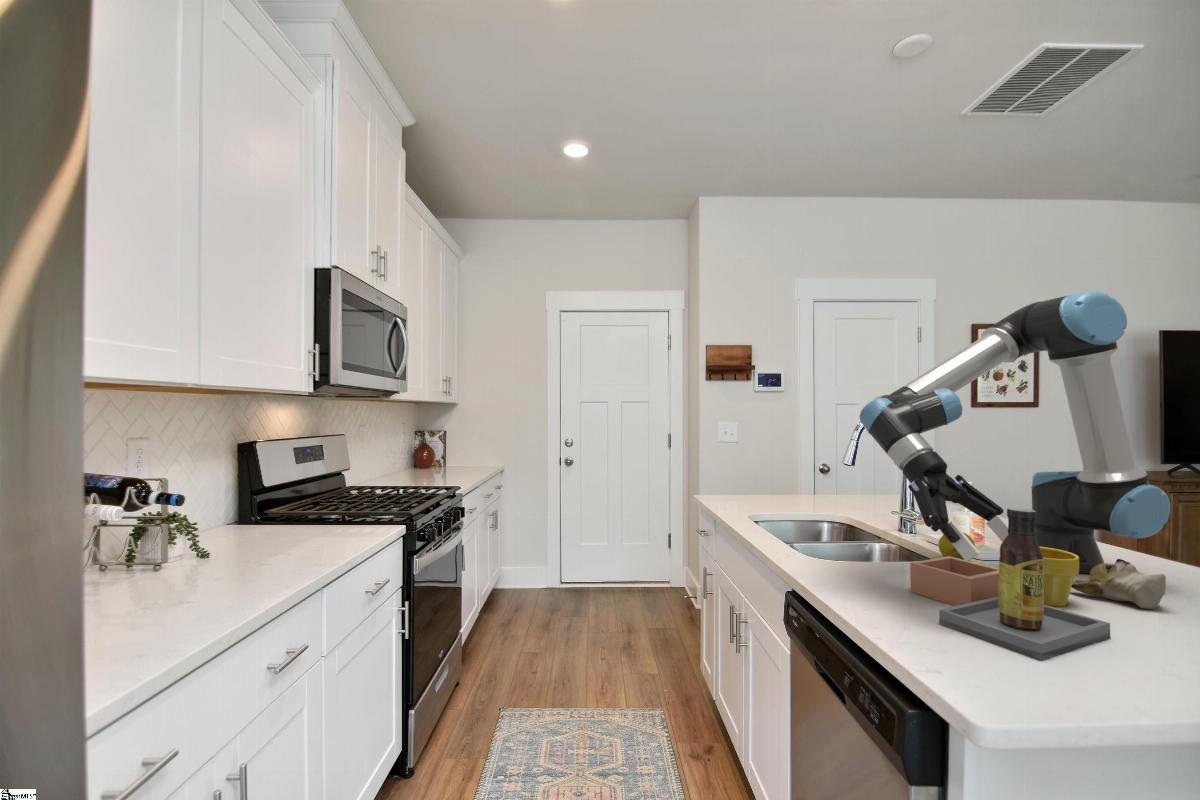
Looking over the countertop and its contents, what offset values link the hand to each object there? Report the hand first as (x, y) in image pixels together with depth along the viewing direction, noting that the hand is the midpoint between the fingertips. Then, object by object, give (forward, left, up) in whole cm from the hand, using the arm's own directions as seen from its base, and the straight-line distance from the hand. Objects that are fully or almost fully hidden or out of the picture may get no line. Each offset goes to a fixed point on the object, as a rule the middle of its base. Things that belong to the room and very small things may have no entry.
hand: (996, 553), depth 100 cm
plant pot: (-21, -3, -13) cm, 25 cm away
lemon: (-32, -28, -13) cm, 45 cm away
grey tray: (0, +4, -12) cm, 13 cm away
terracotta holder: (-8, -12, -12) cm, 19 cm away
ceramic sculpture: (-35, +3, -13) cm, 37 cm away
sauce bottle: (0, +4, -12) cm, 12 cm away
